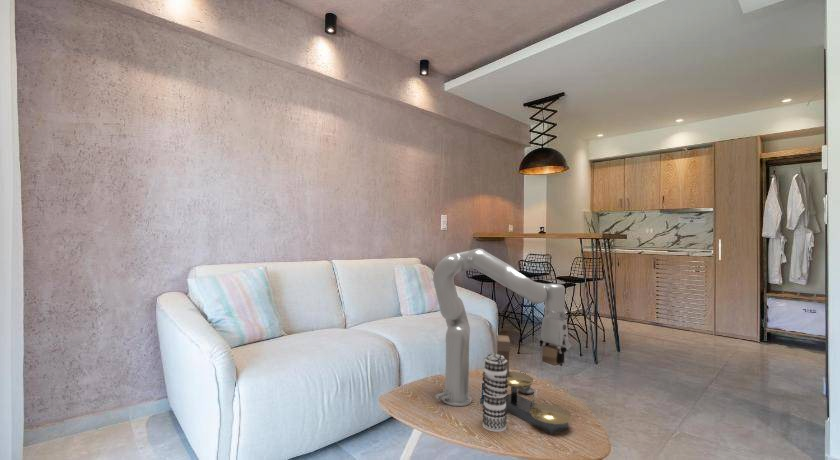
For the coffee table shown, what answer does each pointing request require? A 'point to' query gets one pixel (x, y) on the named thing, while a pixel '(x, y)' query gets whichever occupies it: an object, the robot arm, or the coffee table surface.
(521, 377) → the balance
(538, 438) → the coffee table surface
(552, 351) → the walnut block
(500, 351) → the decorative block
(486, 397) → the decorative candle
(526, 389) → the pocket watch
